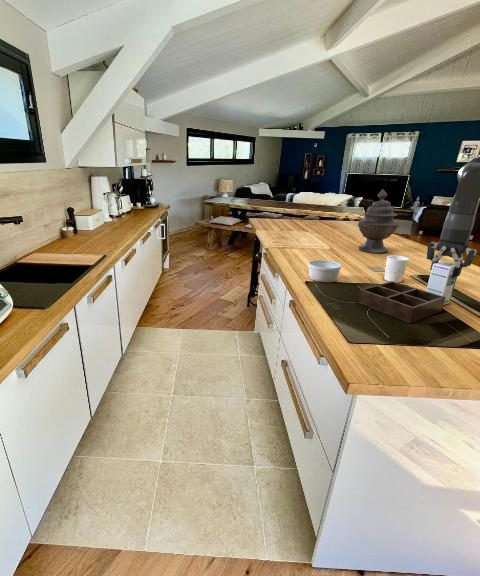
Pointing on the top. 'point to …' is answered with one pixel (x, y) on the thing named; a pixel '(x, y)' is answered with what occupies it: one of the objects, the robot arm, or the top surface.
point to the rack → (401, 301)
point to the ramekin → (324, 270)
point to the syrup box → (442, 280)
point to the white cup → (395, 268)
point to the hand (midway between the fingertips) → (443, 274)
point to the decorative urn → (377, 225)
